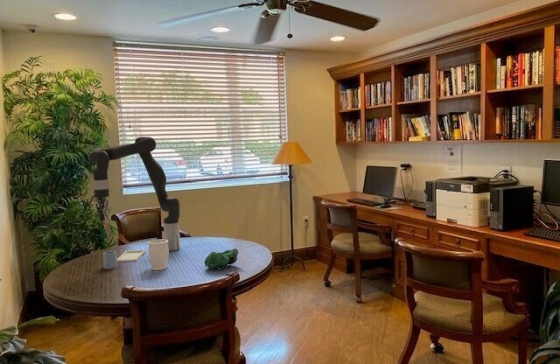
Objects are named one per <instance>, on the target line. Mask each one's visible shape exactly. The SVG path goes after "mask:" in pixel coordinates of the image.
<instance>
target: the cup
mask: <svg viewBox="0 0 560 364" xmlns="http://www.w3.org/2000/svg"><path fill="white" fill-rule="evenodd" d="M117 259H118V252H117V251H116V250H108V251H103V253H102V263H103V264H102V265H103V269H105V270H109V269H110V270H111V269H115V268H116V269H117V267H118V262H117Z"/></svg>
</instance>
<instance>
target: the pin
mask: <svg viewBox="0 0 560 364" xmlns="http://www.w3.org/2000/svg"><path fill="white" fill-rule="evenodd" d="M104 215H105V213H104ZM106 218H107V215H106V216H105V220H104V221H101V222H102V224H103V226H104V227H103V228H104V230H105V232H106V235H107V237H108V238H112V237H113V233H112V230H111V228H110V225H109V221H108V219H106Z"/></svg>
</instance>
